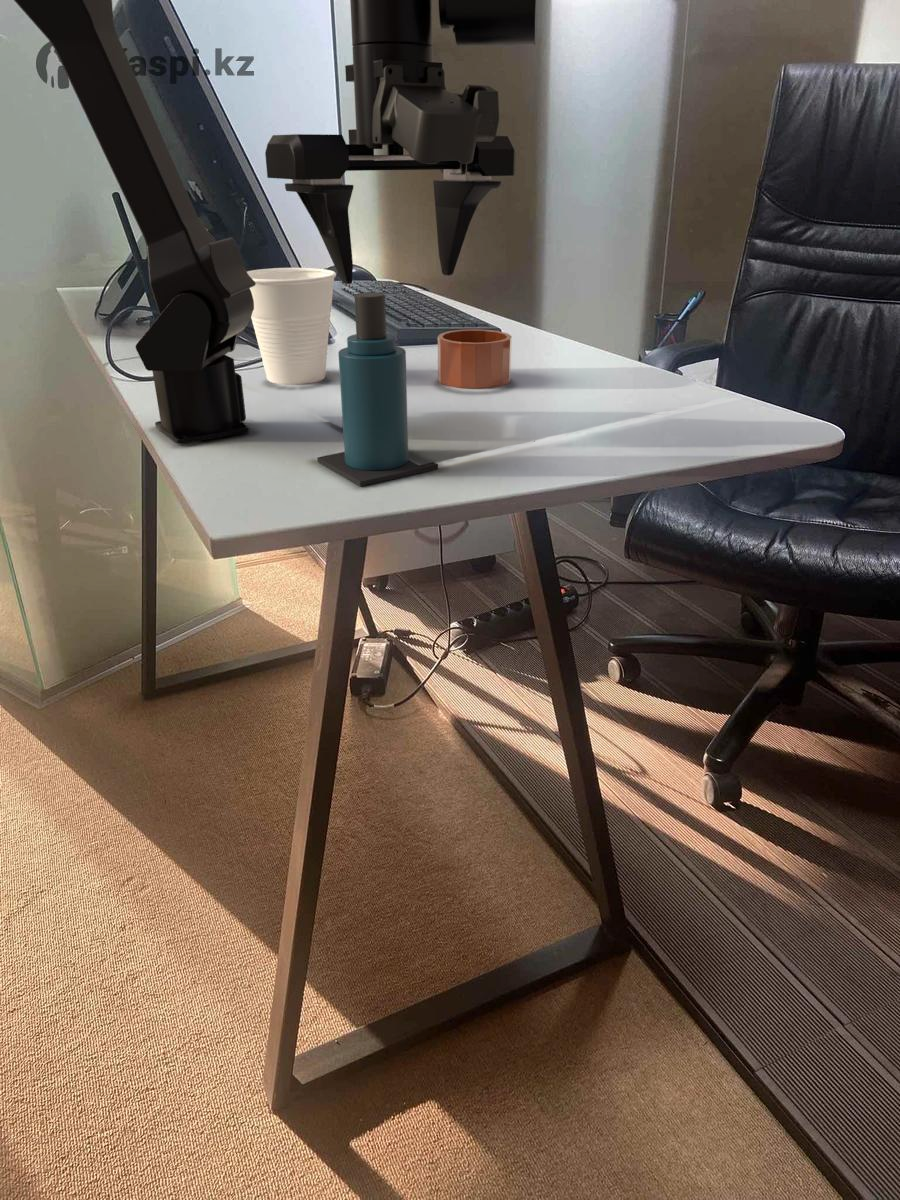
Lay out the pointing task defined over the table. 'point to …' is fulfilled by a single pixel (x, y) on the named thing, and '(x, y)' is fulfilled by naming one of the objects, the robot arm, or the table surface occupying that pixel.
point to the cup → (292, 322)
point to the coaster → (371, 477)
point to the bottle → (373, 391)
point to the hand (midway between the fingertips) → (398, 279)
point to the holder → (474, 359)
